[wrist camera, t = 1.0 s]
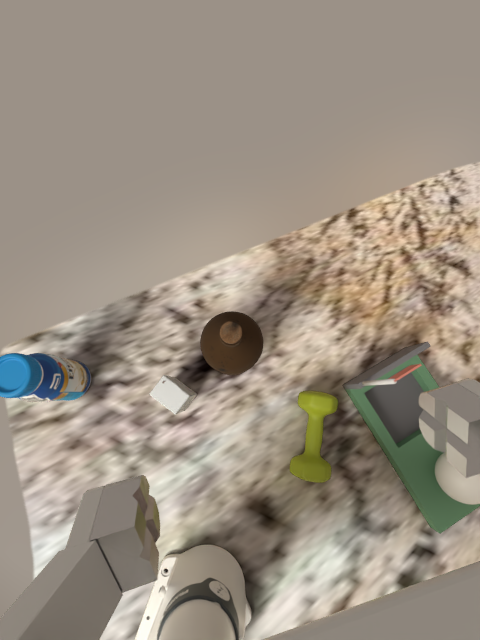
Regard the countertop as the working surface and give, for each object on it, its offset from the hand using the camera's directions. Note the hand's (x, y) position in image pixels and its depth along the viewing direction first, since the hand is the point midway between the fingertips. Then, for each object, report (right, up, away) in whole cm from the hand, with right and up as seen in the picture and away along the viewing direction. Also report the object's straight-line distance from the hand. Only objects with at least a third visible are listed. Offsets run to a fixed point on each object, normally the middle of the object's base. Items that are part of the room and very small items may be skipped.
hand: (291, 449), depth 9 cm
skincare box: (-14, -12, +60) cm, 63 cm away
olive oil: (-3, -3, +62) cm, 62 cm away
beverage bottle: (-37, -9, +60) cm, 71 cm away
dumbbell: (+13, -19, +59) cm, 63 cm away
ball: (+39, -24, +50) cm, 67 cm away
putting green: (+35, -19, +58) cm, 71 cm away
